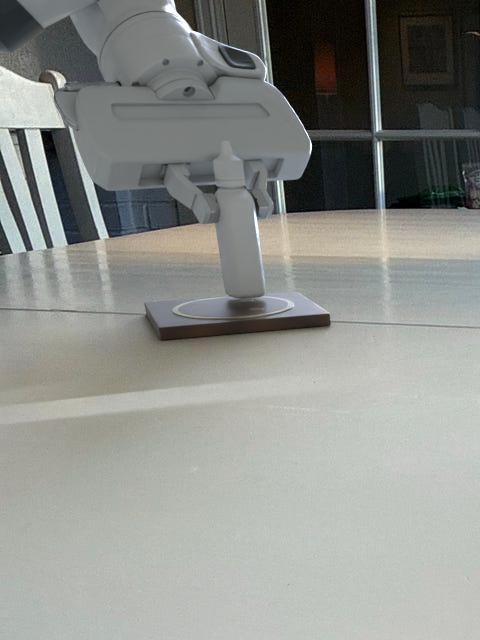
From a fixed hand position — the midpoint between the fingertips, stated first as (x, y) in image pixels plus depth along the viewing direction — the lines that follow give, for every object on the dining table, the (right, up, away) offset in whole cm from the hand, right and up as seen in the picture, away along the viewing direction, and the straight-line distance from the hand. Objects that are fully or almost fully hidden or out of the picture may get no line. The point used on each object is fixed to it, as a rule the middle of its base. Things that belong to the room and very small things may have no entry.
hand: (239, 216), depth 77 cm
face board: (-1, -8, +2) cm, 8 cm away
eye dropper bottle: (0, -5, +4) cm, 7 cm away
